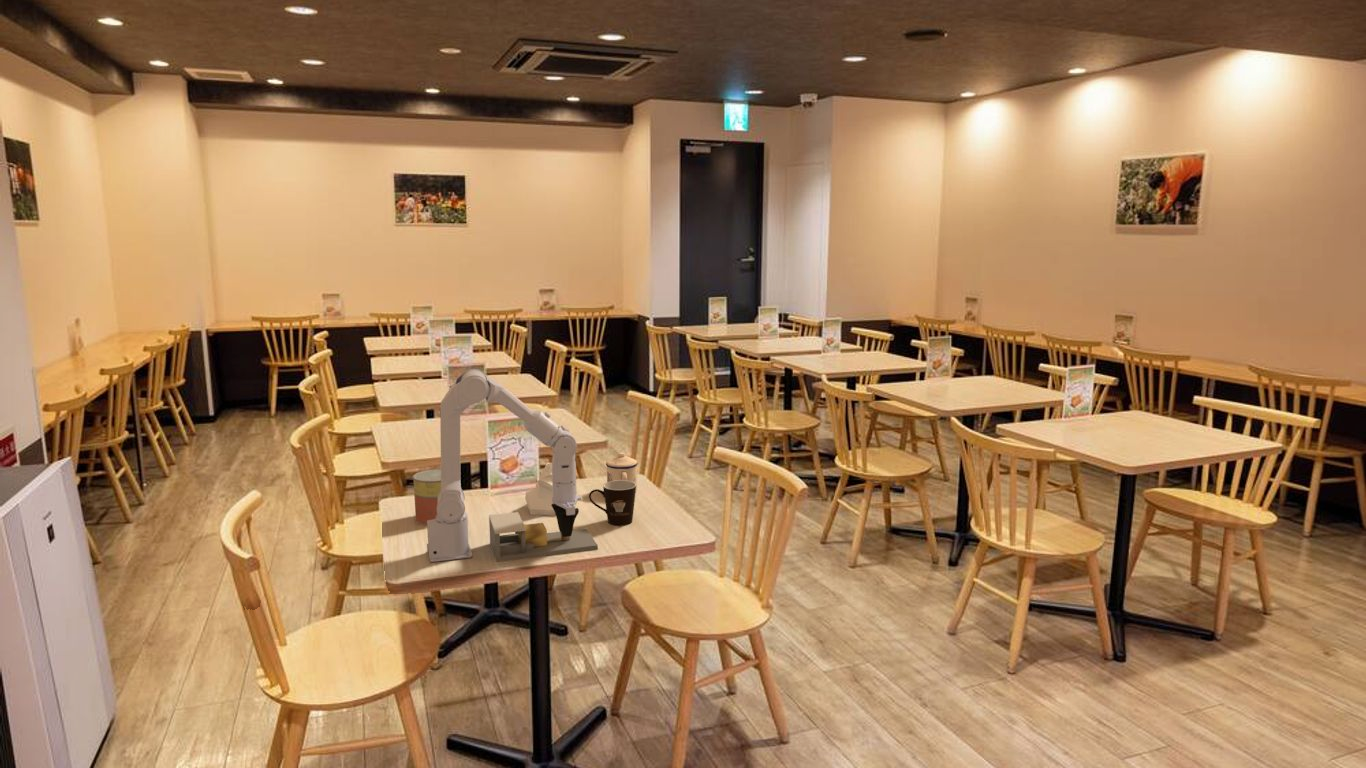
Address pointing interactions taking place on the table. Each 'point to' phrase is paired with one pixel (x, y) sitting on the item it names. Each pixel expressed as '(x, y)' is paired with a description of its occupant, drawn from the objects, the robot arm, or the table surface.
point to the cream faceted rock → (541, 494)
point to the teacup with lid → (622, 468)
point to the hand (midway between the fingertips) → (565, 534)
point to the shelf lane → (512, 549)
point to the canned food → (426, 494)
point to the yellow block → (538, 535)
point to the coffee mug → (618, 501)
